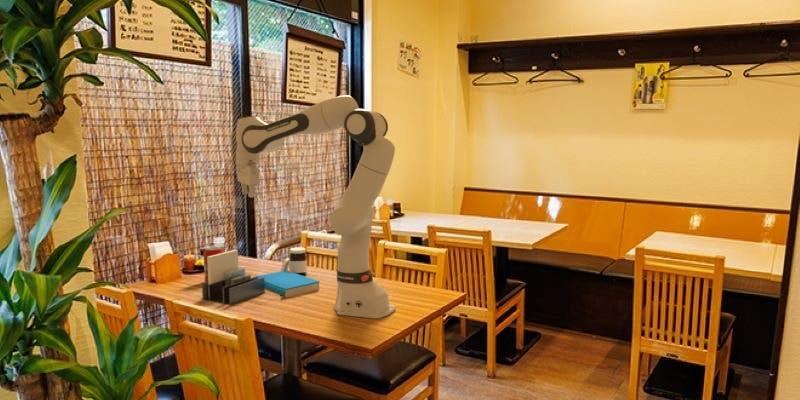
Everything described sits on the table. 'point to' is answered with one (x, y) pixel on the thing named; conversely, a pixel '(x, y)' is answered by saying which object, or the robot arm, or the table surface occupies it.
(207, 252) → the soda can
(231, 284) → the rack
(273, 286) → the book
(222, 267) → the tall sheet
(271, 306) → the table surface
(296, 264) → the striped mug
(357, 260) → the robot arm
